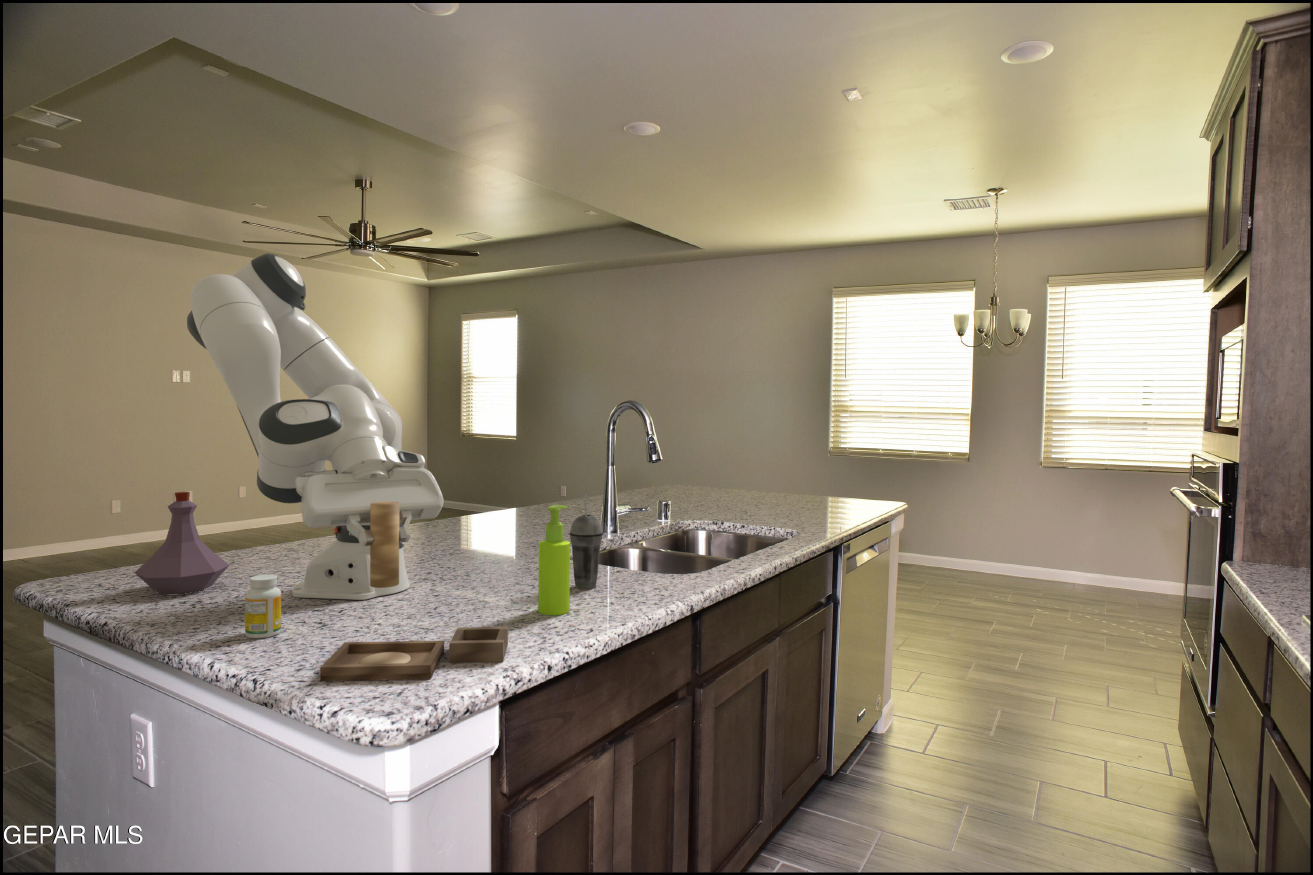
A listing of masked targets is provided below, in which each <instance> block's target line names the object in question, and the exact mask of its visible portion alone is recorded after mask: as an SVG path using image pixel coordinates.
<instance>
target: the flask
mask: <svg viewBox="0 0 1313 875" xmlns="http://www.w3.org/2000/svg"><path fill="white" fill-rule="evenodd" d="M174 495H175V496H174V497H175V501H174V502H172V503H171V504H169V505H167V509H168V510H169V512H170V514H171V520H170V521H171V522H170V525H169V528H168V532H167V535H166V538H165V541H164V542H163V543H162V544H161V546H159V548H158V549H157V550H156V551H155V553H153V555H151V556H150V558H148V559H146V561H145V562H144V563H143V564H142V565H140V567H139V568H137V570H135V572H134V574H135V575H136V576H137V577H138V578H140V580H142V582H144V583H145V584H146V585H147V586H148V587H149V588H151V589H152V590H153V591H154V592H155V591H156V592H155V593H157V592H158V593H157V594H159V593H160V595H161V594H184V595H186V594H185V593H190V592H196V591H202V590H204V589H206V588H208V587H210V586H211V587H212V586H213V585H214V583H215V582H217V580H218V579H219V577H221V576H222V574H223V573H224V572H226V570H227V569H228V568H229V567H230V564H229V563H227V561H225V560H224V559H223V558H221V557H220V556H219V555H218V554H216V553H215V552H214V551H213V550H212V549H211V548H209V546H208V545H206V543H205V542H203V540H202V539H201V537H200V534H199V532H198V529H197V527H196V523H195V520H194V519H195V518H194V512H195V510H196V508H197V506H198V505H197V504H196V503H194V502H192V501H191V500H190V491H176V492H174ZM211 587H210V588H211ZM208 589H209V588H208ZM206 590H207V589H206ZM204 591H205V590H204ZM202 592H203V591H202ZM196 593H197V592H196ZM190 594H191V593H190Z"/></svg>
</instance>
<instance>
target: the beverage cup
mask: <svg viewBox="0 0 1313 875" xmlns="http://www.w3.org/2000/svg"><path fill="white" fill-rule="evenodd" d="M568 534H569V539H570V545H571V552H572V554H571V555H572V566H573V578H574V579H573V580H574V584H575V585H574V588H575V589H579V590H593V589H596V588H597V583H598V582H597V580H598V573H599V562H600V553H601V552H600V551H601V544H602V540H603V535H604V532H603V526H602V524H601V522H600V520H599V519H598V518H597V517H595V516H594V515H592V514H588V495H587V494H584V514H582V515H580V516H578V517H576V518H575V519H574V520H573V521H572V523H571V526H570V531H569V533H568Z"/></svg>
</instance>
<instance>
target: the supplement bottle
mask: <svg viewBox="0 0 1313 875" xmlns="http://www.w3.org/2000/svg"><path fill="white" fill-rule="evenodd" d="M277 584H278V576H277V575H275V574H257V575H254V576H251V577H250V578H249V586H250V589H249V590H248V591H247V592H246V593H245V596H244V599H245V600H244V635H245V636H246V637H247V638H248V639H267V638H271V637H274V636H276V635H278V634H279V633H281V631H282V591H281V589H280V588H279V587H276V586H277Z"/></svg>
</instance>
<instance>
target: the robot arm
mask: <svg viewBox="0 0 1313 875" xmlns="http://www.w3.org/2000/svg"><path fill="white" fill-rule="evenodd" d="M301 276H302V275H301V274H300V272H299V270H298V269H296V267H295V266H294V265H293V264H292V263H290V262H289V261H287V260H285V258H282V257H281V256H279V255H278V254H274V253H269V252H266V253H263V254H261V255H258V256H257V257H255V258H253V259H251V261H250V263H248V264H246V265H244V266H243V267H241V268H239V269H238V270H236V271H234V272H233V273H232V274H227V273H226V274H224V273H217V274H216V273H215V274H211V275H208V276H205V277H203V278H202V279H200V280H198V282H197V283H196V284H195V285H194V286H193V288H192V290H191V293H190V299H189V301H190V308H191V310H190V312H189V313H188V314H187V318H186V328H187V330H188V332H189V334H190V335H191V336H192V337H193V339H194V340H195V341H196V343H198V345H199V346H202V348H204V349H205V350H206V351H207V352H208V354H209V356H210V358H211V359H212V362H213V363H214V365H215V367H216V369H217V370H218V371H219V374H220V376H221V377H222V379H223V381H224V384H225V385H226V388H227V389H228V391H229V393H230V395H231V397H232V398H233V400H234V402H235V404H236V406H237V409H238V412H239V414H240V417H241V419H242V421H243V424H244V426H245V428H246V432H247V434H248V437H249V438H250V440H251V443H252V446H253V448H254V450H255V453H256V456H257V460H258V464H257V468H258V469H257V472H256V486H257V489H258V491H260V493H261V494H262V495H263V496H265V497H266V498H268V499H270V500H272V501H275V502H276V503H282V504H299V503H300V505H301V516H302V522H303V524H305V526H307V527H309V528H310V529H319V528H328V527H330V528H331V527H334V528H333V530H334V531H333V535H335V539H336V540H335V541H333V542H332V543H331V544H330V545H327V547H325V548H324V549H322V550H321V551H320V552H318V553H317V555H315V556H314V557H313V558H311V559H310V561H309V562H308V564H307V566H306V568H305V573H304V581H303V580H302V581H300V582H299V583H297V584H296V585H294V586H293V588H292V589H291V590H292V591H291V595H292V596H293V598H306V599H309V598H311V599H328V600H329V599H331V600H332V599H335V600H357V601H361V600H362V601H363V600H369V599H373V598H376V597H382V596H386V595H387V596H388V595H393V594H396V593H399V592H403V591H405V590H407V589H409V588H410V587H411V584H410V583H411V582H410V580H409V576H408V573H407V572H408V571H407V569H406V562H405V554H404V547H405V543H408V542H409V541H410V538H411V532H410V530H409V526H410V523H411V521H414V520H425V519H426V520H427V519H428V520H429V519H435V518H436V517H437V518H438V516H439V514H440V512H441V510H442V508H443V506H444V502H445V501H444V500H445V499H444V496H443V493H442V491H441V488H440V485H439V483H438V482H437V480H436V477H435V476H434V475H433V473H432V472H431V471H430V470H429V469H426V468H425V465H426V460H425V457H424V455H422V454H420V453H415V452H410V451H407V450H402V449H403V448H402V446H403V445H402V444H403V442H402V438H403V437H402V436H403V422H402V418H401V416H400V414H399V413H398V411H397V409H396V408H394V406H392V404H391V403H390V402H389V401H388V400H387V398H386V397H384V396H383V394H382V393H380V391H378V390H379V389H377V388H376V386H375V385H374V384H372V383H371V381H370V380H369V379H368V377H366V376H365V375H364V374H363V373H362V372H361V371H360V369H359V368H358V367H357V366H356V365H355V364H354V363H353V362H352V360H350V358H349V357H348V356H347V355H346V354H345V353H344V352H343V350H342V349H341V348H340V346H338V345H337V343H336V342H335V341H334V340H333V339H332V338H331V337H330V336H329V335H328V334H327V332H325V330H324V329H323V328H322V327H321V326H320V325H318V324H317V323H316V322H315V320H313V319H312V318H311V317H310V316H308V315H307V314H306V313H305V312H304V311H305V309H306V304H305V300H306V297H307V293H306V291H307V290H306V289H307V288H306V284H305V282H304V280H303V278H302V277H301ZM281 369H282V370H283V371H284V373H285V374H286V375H287V377H289V379H290V380H291V381H292V382H293V383H294V384H295V385H296V386H297V387H298V388H299V389H300V390H301V391H302V392H303V394H304V395H305V396H306V397H307V398H304V399H303V398H302V399H298V398H297V399H289V400H282V399H281V384H280V383H281V382H280V381H281V379H280V378H281ZM326 461H328V462H330V464H331V469H332V470H326ZM374 502H399V585H397V586H394V587H387V588H375V587H371V586H370V546H371V545H372V543H373V536H372V532H371V530H370V504H371V503H374Z"/></svg>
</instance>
